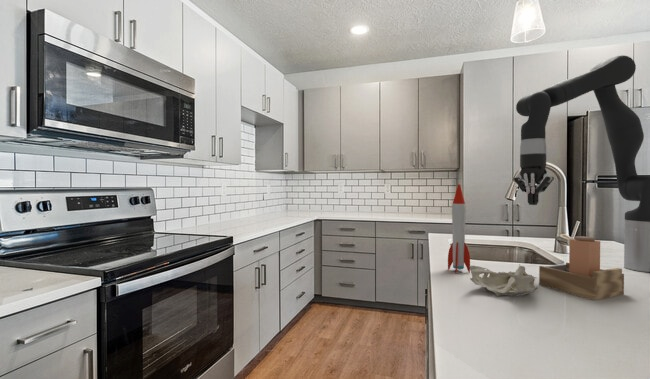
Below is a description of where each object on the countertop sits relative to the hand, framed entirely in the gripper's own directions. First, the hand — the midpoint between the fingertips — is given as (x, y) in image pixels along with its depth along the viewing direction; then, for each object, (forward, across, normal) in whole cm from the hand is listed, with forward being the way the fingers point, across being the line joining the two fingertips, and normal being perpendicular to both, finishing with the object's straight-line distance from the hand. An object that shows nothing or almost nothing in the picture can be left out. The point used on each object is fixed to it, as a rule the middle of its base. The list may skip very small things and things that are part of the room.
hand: (532, 204), depth 112 cm
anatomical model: (+23, -11, +26) cm, 36 cm away
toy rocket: (+23, +11, +22) cm, 34 cm away
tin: (+21, -18, +5) cm, 28 cm away
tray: (+22, -16, +5) cm, 27 cm away
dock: (+23, -17, +5) cm, 29 cm away
